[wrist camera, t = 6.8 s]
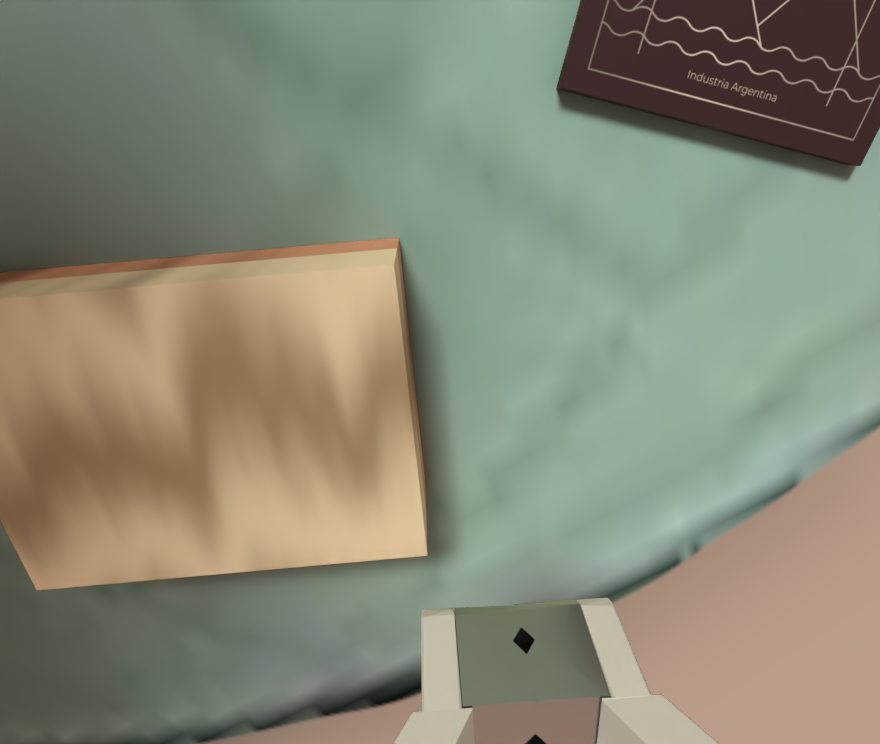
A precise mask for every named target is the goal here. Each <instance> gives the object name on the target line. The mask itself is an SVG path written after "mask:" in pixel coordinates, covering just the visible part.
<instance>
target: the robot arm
mask: <svg viewBox="0 0 880 744" xmlns="http://www.w3.org/2000/svg"><path fill="white" fill-rule="evenodd" d="M454 614H455V617H454ZM421 658H422V711H417V712H412V713H411V714H410V716H409V718H408V719H407V721H406V723H405V724H404V726H403V728H402V729H401V731H400V733H399V734H398V736H397V738H396V739H395V741H394V742H393V744H718V743H717V742H716V741H715V740H714V739H713V738H712V737H710V736H709V735H708V734H707V733H706V732H705V731H704V730H702V729H701V728H700V727H699V726H698V725H696V724H695V723H694V722H693V721H692V720H691V719H690V718H688V717H687V716H686V715H685V714H684V713H683V712H681V711H680V710H679V709H678V708H677V707H676V706H674V705H673V704H672V703H671V702H670V701H669V700H668V699H666V698H665V697H664V696H663V695H662V694H658V695H657V694H655V695H651V693H650V690H649V688H648V686H647V683H646V681H645V678H644V676H643V674H642V671H641V669H640V667H639V664H638V662H637V660H636V657H635V655H634V653H633V650H632V648H631V646H630V643H629V641H628V638H627V636H626V634H625V631H624V629H623V626H622V624H621V622H620V619H619V617H618V615H617V612H616V610H615V608H614V605H613V603H612V602H611V601H610V600H609V599H608V598H596V599H582V600H576V601H575V600H564V601H551V602H539V603H527V604H515V605H514V606H490V607H465V608H454V609H453V608H451V609H430V610H422V617H421Z"/></svg>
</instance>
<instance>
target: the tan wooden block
mask: <svg viewBox="0 0 880 744" xmlns="http://www.w3.org/2000/svg"><path fill="white" fill-rule="evenodd" d="M0 521H1V523H2V525H3V527H4V529H5V530H6V532H7V534H8V536H9V538H10V540H11V542H12V544H13V546H14V548H15V550H16V552H17V553H18V555H19V557H20V559H21V561H22V563H23V565H24V567H25V569H26V571H27V573H28V575H29V576H30V578H31V580H32V582H33V584H34V586H35V588H36V590H47V589H58V588H70V587H81V586H92V585H103V584H114V583H126V582H137V581H148V580H159V579H170V578H182V577H193V576H204V575H215V574H226V573H238V572H249V571H260V570H271V569H282V568H294V567H305V566H316V565H327V564H338V563H350V562H361V561H372V560H383V559H394V558H406V557H417V556H427V515H426V482H425V473H424V464H423V455H422V445H421V436H420V427H419V418H418V409H417V400H416V390H415V381H414V372H413V363H412V354H411V344H410V335H409V326H408V317H407V308H406V299H405V289H404V280H403V271H402V262H401V253H400V244H399V238H389V239H378V240H366V241H355V242H343V243H332V244H320V245H309V246H297V247H286V248H274V249H263V250H251V251H240V252H228V253H217V254H205V255H194V256H182V257H171V258H159V259H148V260H136V261H125V262H114V263H102V264H91V265H79V266H68V267H56V268H45V269H33V270H22V271H10V272H0Z"/></svg>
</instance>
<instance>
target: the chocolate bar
mask: <svg viewBox="0 0 880 744" xmlns="http://www.w3.org/2000/svg"><path fill="white" fill-rule="evenodd" d="M556 89H560V90H563V91H567V92H571V93H575V94H579V95H583V96H586V97H590V98H594V99H598V100H602V101H605V102H609V103H613V104H617V105H621V106H625V107H628V108H632V109H636V110H640V111H644V112H648V113H651V114H655V115H659V116H663V117H667V118H670V119H674V120H678V121H682V122H686V123H690V124H693V125H697V126H701V127H705V128H709V129H712V130H716V131H720V132H724V133H728V134H732V135H735V136H739V137H743V138H747V139H751V140H755V141H758V142H762V143H766V144H770V145H774V146H777V147H781V148H785V149H789V150H793V151H797V152H800V153H804V154H808V155H812V156H816V157H819V158H823V159H827V160H831V161H835V162H839V163H842V164H846V165H856V166H860V165H861V164H862V162H863V160H864V158H865V156H866V154H867V152H868V150H869V148H870V146H871V144H872V142H873V140H874V138H875V136H876V134H877V132H878V130H879V128H880V0H581V1H580V5H579V8H578V12H577V15H576V19H575V23H574V26H573V30H572V34H571V37H570V41H569V45H568V48H567V52H566V56H565V59H564V63H563V66H562V70H561V74H560V77H559V81H558V85H557V88H556Z"/></svg>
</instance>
